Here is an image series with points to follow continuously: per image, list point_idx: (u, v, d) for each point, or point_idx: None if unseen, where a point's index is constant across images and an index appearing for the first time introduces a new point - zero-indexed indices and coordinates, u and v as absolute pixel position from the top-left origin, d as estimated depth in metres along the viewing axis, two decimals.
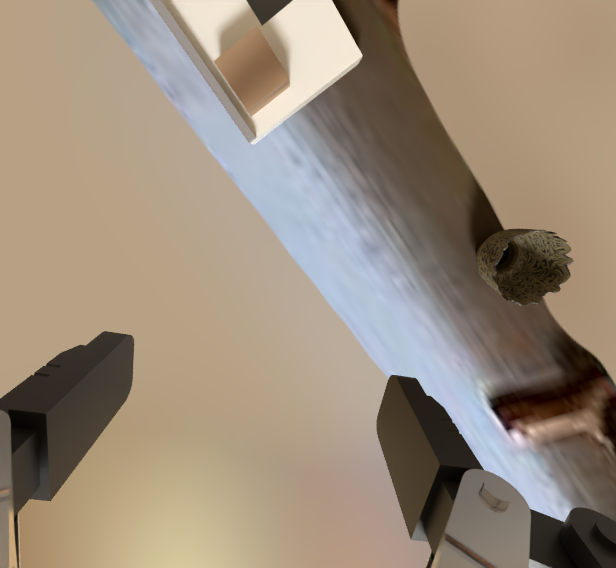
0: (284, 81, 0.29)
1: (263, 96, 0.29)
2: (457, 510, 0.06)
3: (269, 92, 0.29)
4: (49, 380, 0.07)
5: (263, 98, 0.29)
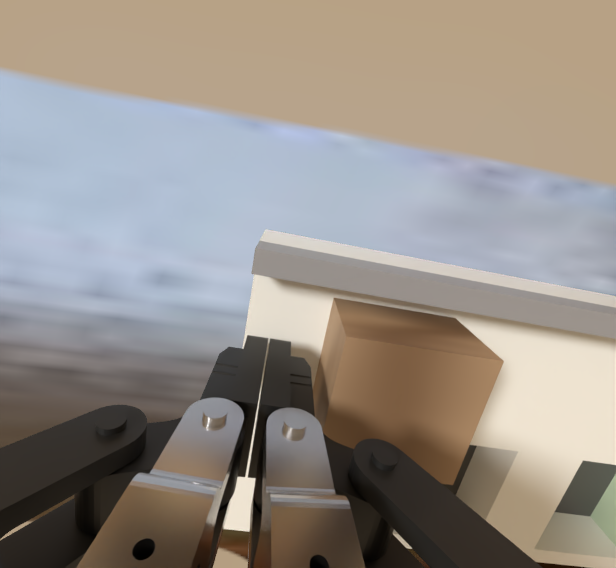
0: None
1: (335, 395, 0.09)
2: (270, 460, 0.06)
3: (329, 412, 0.10)
4: (239, 377, 0.09)
5: (332, 388, 0.10)
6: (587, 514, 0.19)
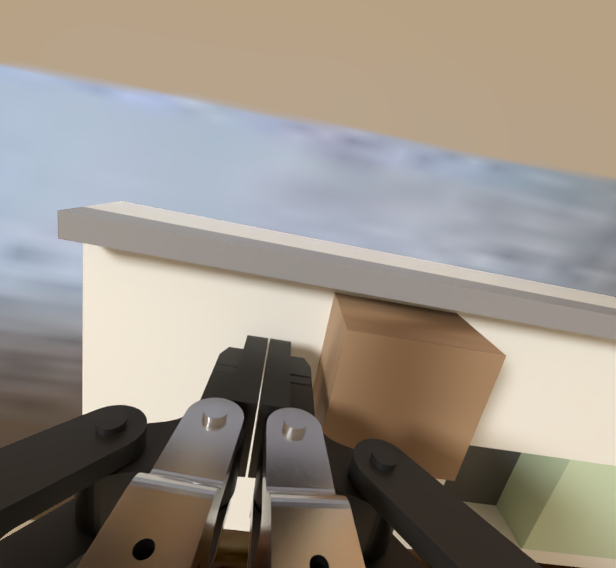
0: None
1: (336, 389, 0.09)
2: (270, 460, 0.06)
3: (330, 407, 0.10)
4: (239, 377, 0.09)
5: (333, 382, 0.10)
6: (493, 503, 0.18)
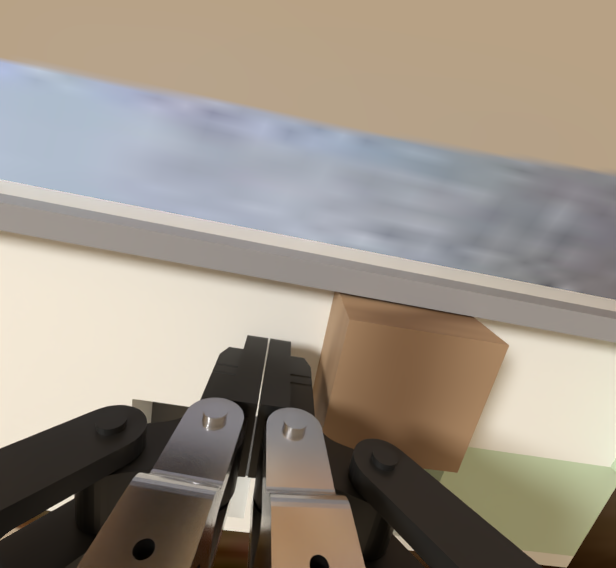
0: None
1: (338, 380, 0.09)
2: (270, 459, 0.06)
3: (332, 397, 0.10)
4: (239, 377, 0.09)
5: (335, 372, 0.10)
6: None
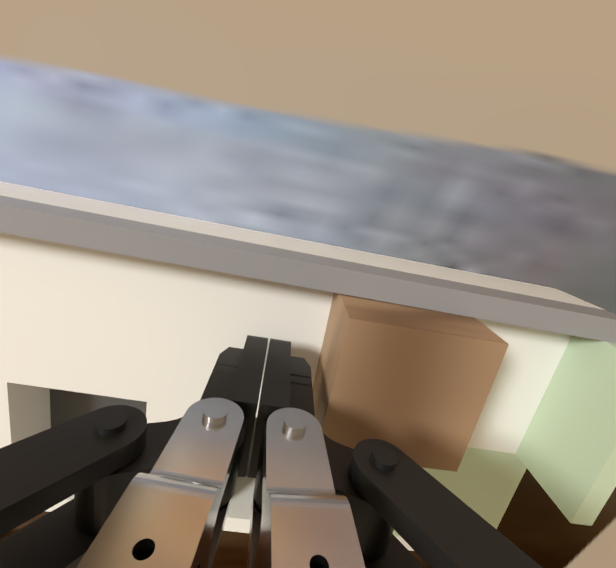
0: None
1: (337, 379, 0.09)
2: (270, 459, 0.06)
3: (331, 396, 0.10)
4: (239, 377, 0.09)
5: (334, 371, 0.10)
6: None
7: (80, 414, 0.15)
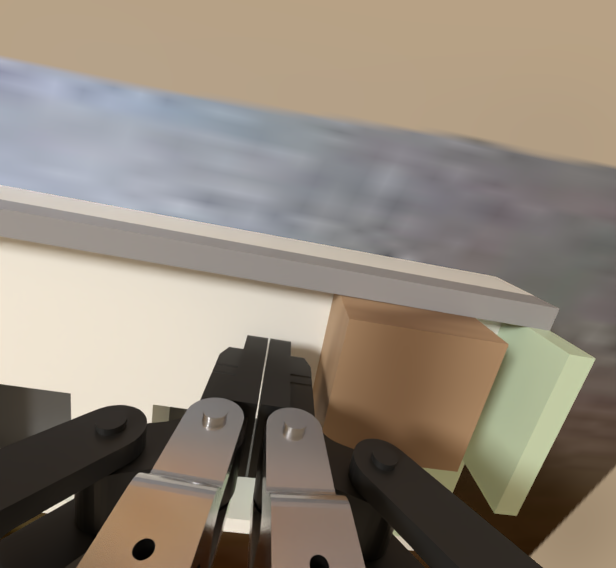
0: None
1: (338, 379, 0.09)
2: (270, 459, 0.06)
3: (332, 397, 0.10)
4: (239, 377, 0.09)
5: (335, 372, 0.10)
6: None
7: (17, 408, 0.15)
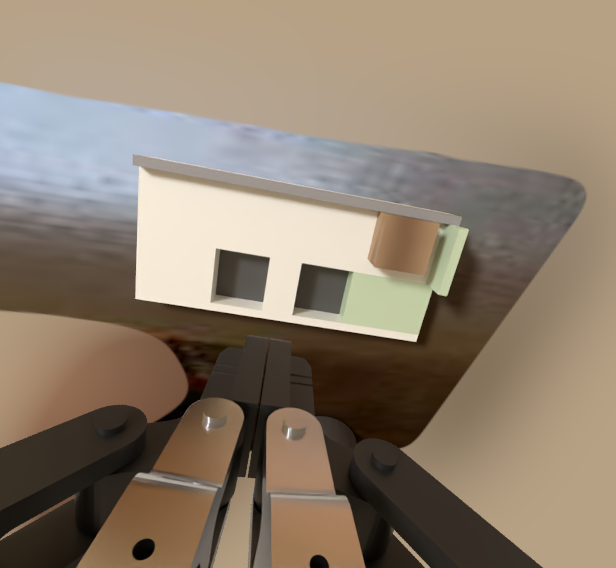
0: (375, 261, 0.29)
1: (383, 236, 0.28)
2: (270, 459, 0.06)
3: (380, 243, 0.28)
4: (239, 377, 0.09)
5: (381, 235, 0.28)
6: (338, 313, 0.36)
7: (230, 274, 0.34)
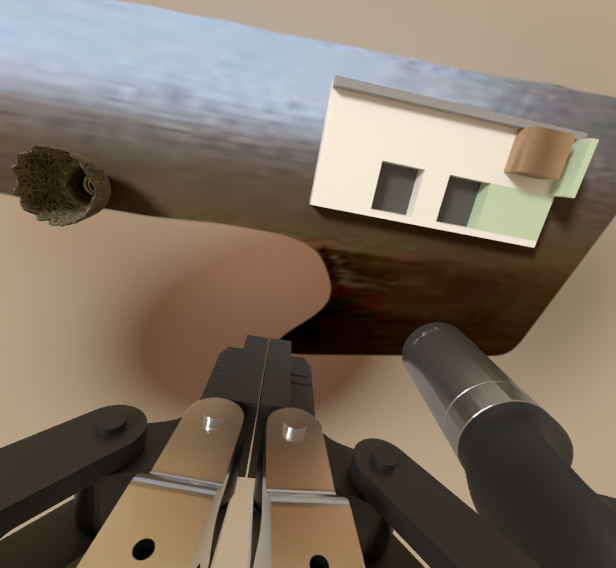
0: (521, 166, 0.36)
1: (530, 144, 0.35)
2: (270, 459, 0.06)
3: (527, 151, 0.35)
4: (239, 377, 0.09)
5: (528, 144, 0.35)
6: (465, 226, 0.43)
7: (382, 189, 0.41)
